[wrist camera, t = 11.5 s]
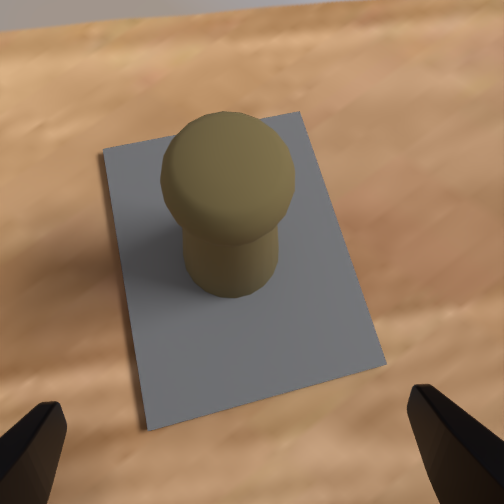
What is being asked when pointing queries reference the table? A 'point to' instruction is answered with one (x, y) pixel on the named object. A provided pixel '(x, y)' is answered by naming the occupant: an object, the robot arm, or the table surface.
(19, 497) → the robot arm
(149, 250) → the mat
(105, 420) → the table surface
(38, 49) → the table surface
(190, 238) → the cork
